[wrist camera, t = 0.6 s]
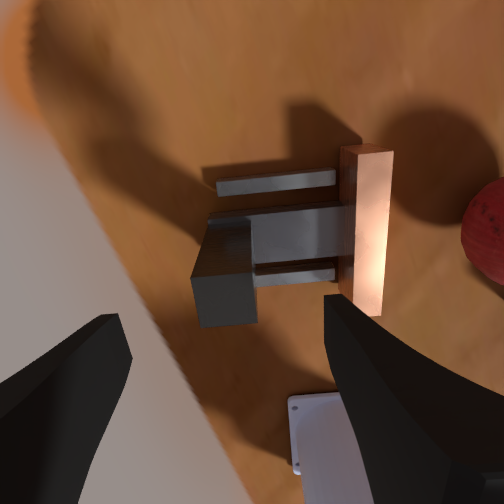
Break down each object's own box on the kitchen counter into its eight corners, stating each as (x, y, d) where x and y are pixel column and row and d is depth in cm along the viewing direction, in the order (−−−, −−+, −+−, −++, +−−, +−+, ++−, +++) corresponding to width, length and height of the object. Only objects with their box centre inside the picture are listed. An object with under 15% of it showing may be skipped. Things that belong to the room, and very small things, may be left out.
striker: (362, 286, 21) (414, 369, 14) (223, 299, 21) (212, 385, 15) (369, 143, 17) (443, 166, 11) (201, 161, 18) (172, 194, 11)
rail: (331, 272, 21) (334, 279, 20) (232, 281, 21) (231, 289, 20) (331, 166, 18) (335, 170, 17) (217, 178, 18) (215, 182, 18)
